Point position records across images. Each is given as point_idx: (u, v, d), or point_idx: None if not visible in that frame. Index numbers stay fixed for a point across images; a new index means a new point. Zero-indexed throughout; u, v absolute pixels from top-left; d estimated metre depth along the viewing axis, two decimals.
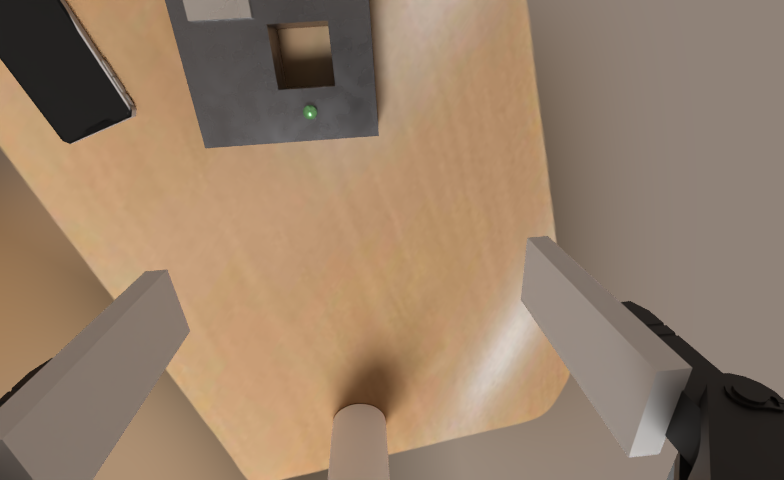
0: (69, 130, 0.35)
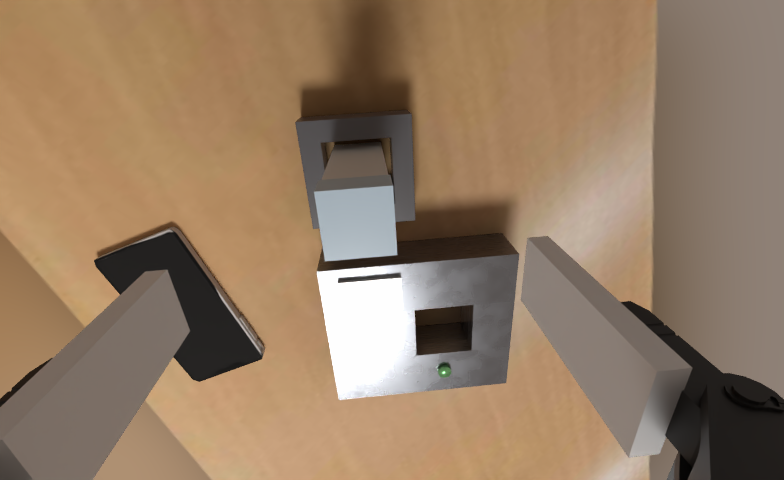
0: (201, 372, 0.36)
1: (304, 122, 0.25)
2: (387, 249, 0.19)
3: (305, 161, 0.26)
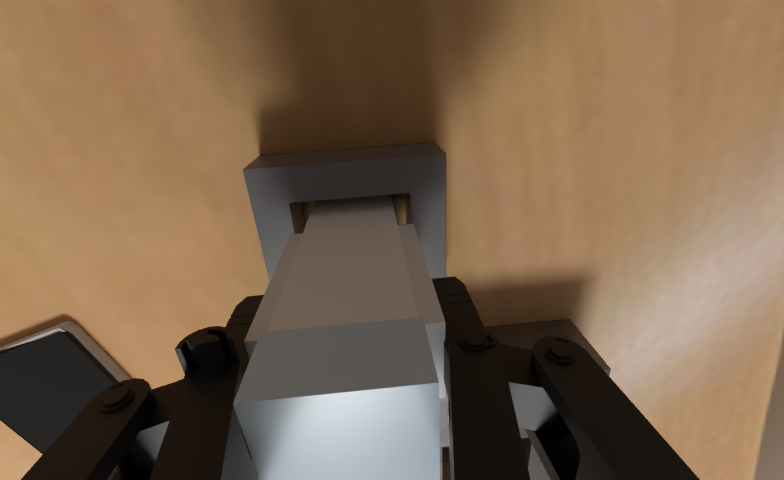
0: None
1: (259, 170, 0.14)
2: None
3: (264, 233, 0.15)
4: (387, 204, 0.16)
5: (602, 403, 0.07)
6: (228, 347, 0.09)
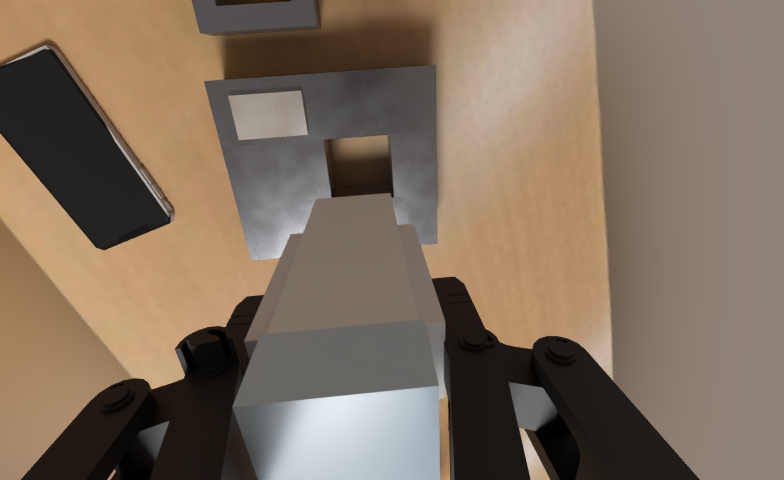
0: (103, 237, 0.33)
1: None
2: None
3: None
4: (387, 205, 0.16)
5: (602, 403, 0.07)
6: (228, 347, 0.09)
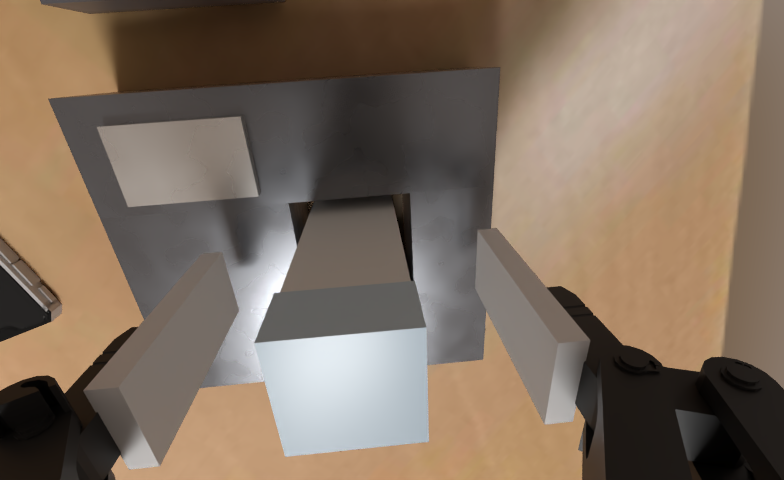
0: None
1: None
2: (410, 434, 0.10)
3: None
4: None
5: None
6: (54, 397, 0.08)
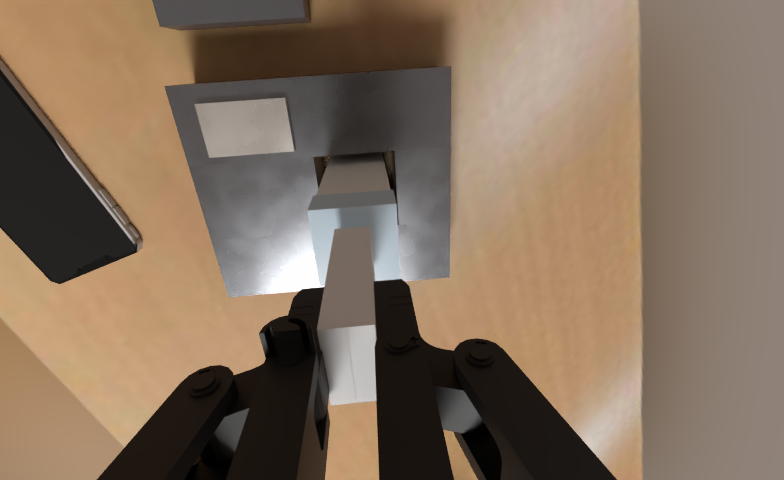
0: (58, 269, 0.28)
1: None
2: (390, 273, 0.17)
3: None
4: (379, 154, 0.25)
5: (518, 402, 0.07)
6: (306, 337, 0.09)
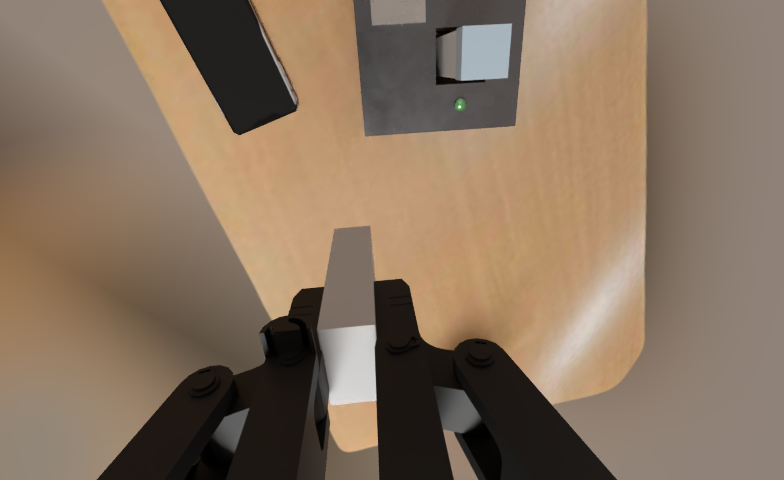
0: (241, 123, 0.40)
1: None
2: (502, 73, 0.29)
3: None
4: None
5: (518, 402, 0.07)
6: (306, 337, 0.09)
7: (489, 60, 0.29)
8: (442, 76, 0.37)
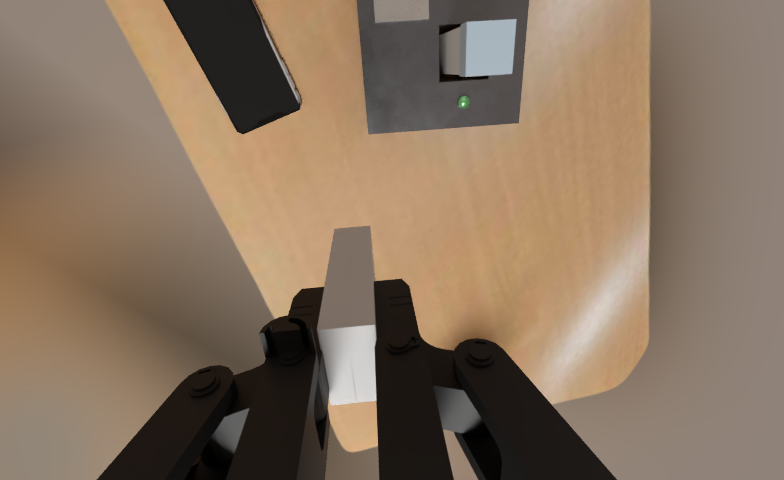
0: (244, 122, 0.40)
1: None
2: (506, 69, 0.29)
3: None
4: None
5: (518, 402, 0.07)
6: (306, 337, 0.09)
7: (493, 56, 0.29)
8: (445, 73, 0.37)
